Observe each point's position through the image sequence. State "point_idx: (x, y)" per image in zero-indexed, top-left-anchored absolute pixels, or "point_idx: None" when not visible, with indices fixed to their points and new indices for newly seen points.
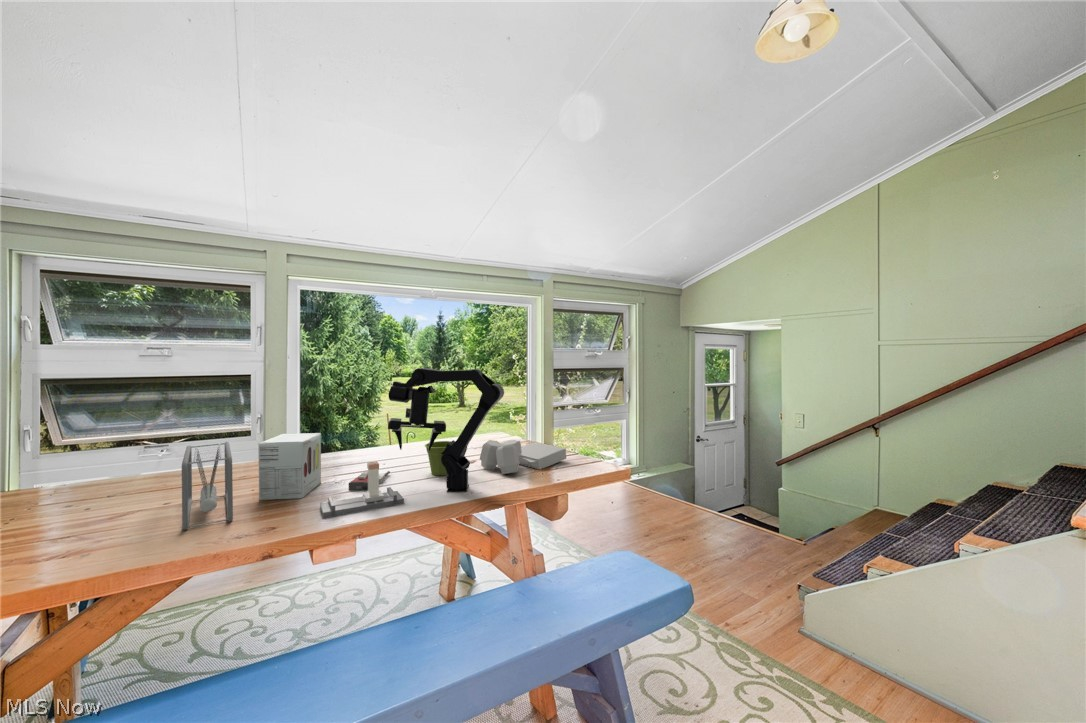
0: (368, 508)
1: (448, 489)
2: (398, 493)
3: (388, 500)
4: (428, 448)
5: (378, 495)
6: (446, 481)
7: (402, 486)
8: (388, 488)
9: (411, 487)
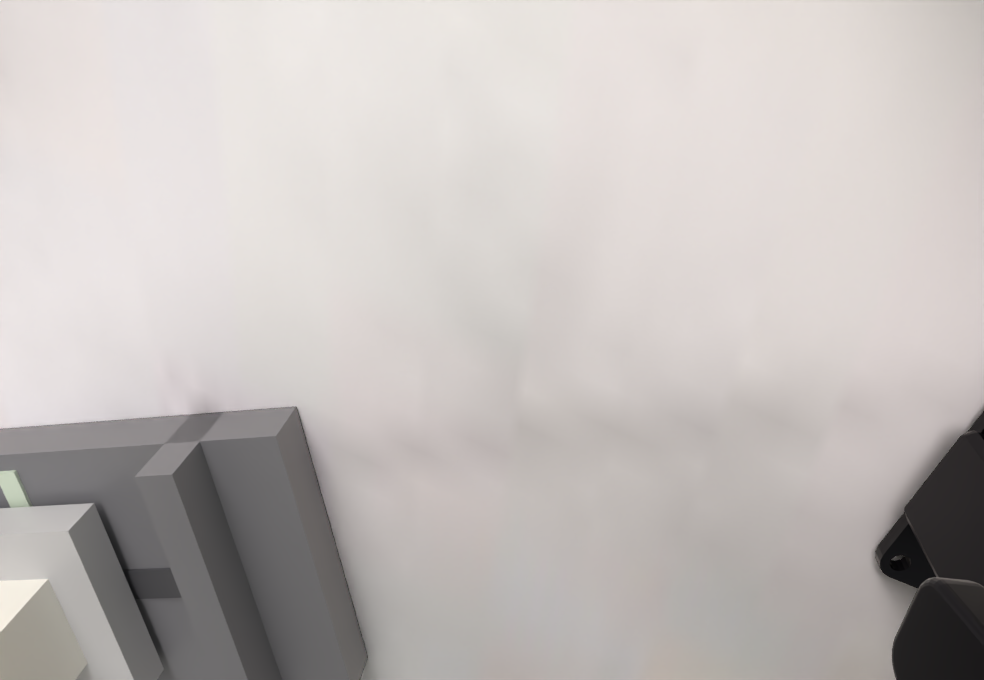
0: None
1: (911, 541)
2: (296, 534)
3: (210, 676)
4: (942, 662)
5: (88, 677)
6: (936, 570)
7: (360, 40)
8: (156, 511)
9: (485, 153)
